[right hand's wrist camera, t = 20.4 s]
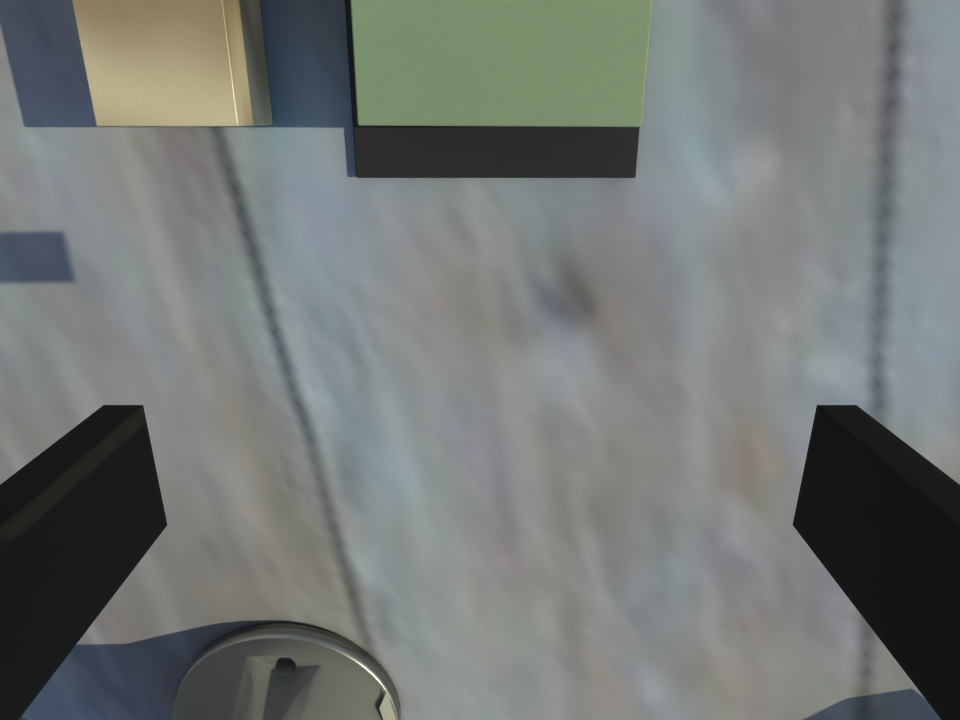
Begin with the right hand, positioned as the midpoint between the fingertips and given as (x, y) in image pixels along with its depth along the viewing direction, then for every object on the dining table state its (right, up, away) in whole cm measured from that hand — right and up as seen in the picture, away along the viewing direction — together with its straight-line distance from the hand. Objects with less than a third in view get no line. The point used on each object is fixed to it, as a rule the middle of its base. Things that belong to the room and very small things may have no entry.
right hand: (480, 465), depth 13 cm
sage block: (+1, +18, +17) cm, 25 cm away
